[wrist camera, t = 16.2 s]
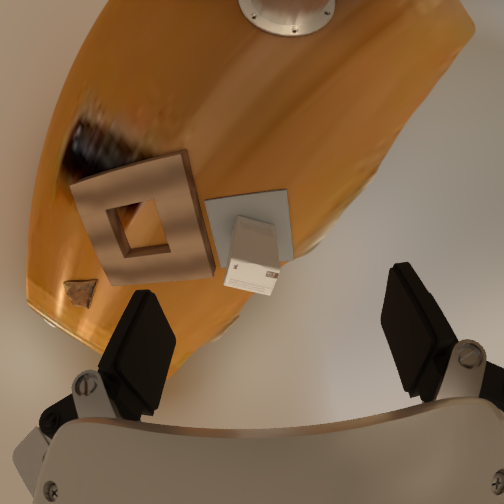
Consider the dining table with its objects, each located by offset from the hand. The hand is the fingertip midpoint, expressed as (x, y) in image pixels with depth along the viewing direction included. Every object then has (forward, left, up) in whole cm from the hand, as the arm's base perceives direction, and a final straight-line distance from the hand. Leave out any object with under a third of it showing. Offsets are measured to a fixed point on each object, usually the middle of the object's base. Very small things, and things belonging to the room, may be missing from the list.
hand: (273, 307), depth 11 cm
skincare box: (+12, -4, -30) cm, 32 cm away
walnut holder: (+8, -21, -30) cm, 38 cm away
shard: (+20, -43, -31) cm, 57 cm away
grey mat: (+12, -4, -30) cm, 33 cm away
